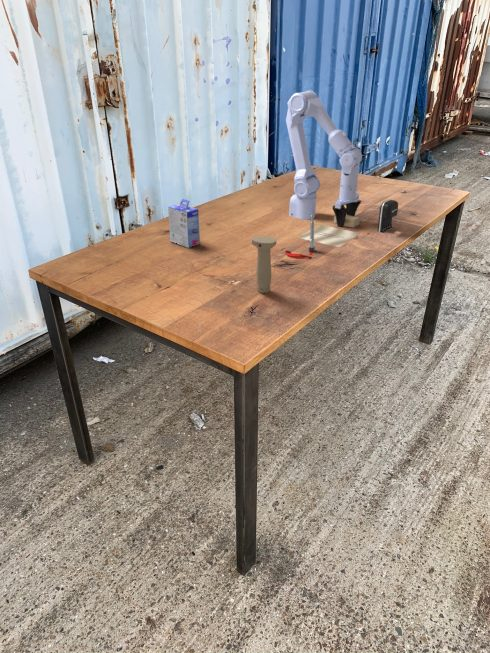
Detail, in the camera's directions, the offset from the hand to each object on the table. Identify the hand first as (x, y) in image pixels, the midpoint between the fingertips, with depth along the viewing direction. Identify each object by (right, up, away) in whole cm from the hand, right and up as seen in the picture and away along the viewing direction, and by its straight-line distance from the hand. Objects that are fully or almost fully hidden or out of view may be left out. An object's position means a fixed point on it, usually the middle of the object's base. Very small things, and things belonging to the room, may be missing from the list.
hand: (345, 223), depth 182 cm
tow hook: (-19, -14, -20) cm, 31 cm away
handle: (-31, -28, -44) cm, 60 cm away
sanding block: (0, -2, +1) cm, 2 cm away
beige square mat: (-8, -7, -9) cm, 14 cm away
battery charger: (+13, -5, -6) cm, 15 cm away
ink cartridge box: (-57, -9, -11) cm, 58 cm away
